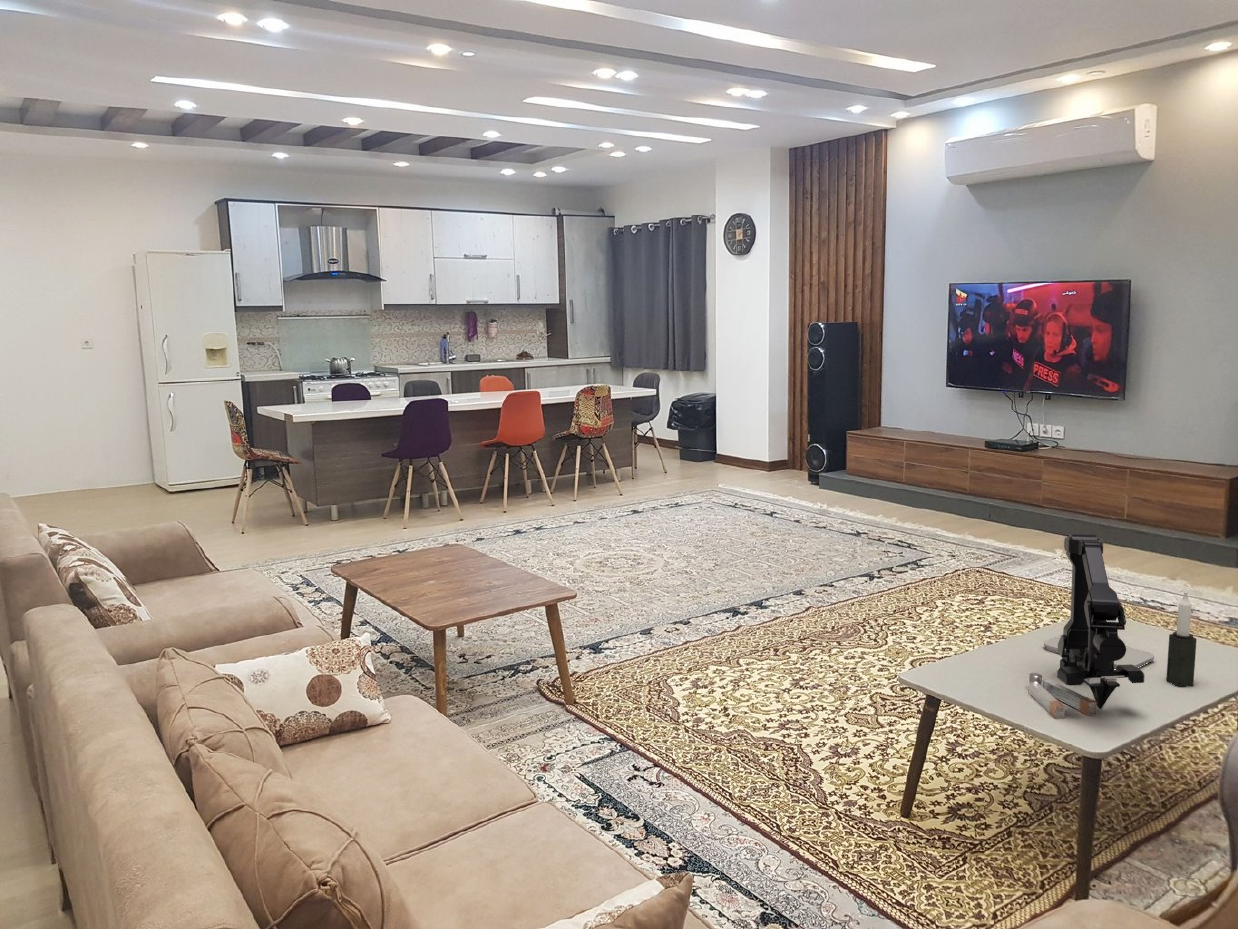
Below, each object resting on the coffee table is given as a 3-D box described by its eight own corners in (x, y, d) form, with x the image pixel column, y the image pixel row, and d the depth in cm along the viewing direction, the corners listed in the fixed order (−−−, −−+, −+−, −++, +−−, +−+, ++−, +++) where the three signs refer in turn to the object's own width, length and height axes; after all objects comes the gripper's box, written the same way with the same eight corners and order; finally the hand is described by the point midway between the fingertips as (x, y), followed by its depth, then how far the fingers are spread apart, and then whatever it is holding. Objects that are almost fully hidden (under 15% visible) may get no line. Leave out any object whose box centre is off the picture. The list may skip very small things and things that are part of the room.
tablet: (1129, 676, 257) (1129, 668, 256) (1039, 650, 278) (1039, 643, 277) (1158, 662, 266) (1158, 654, 266) (1069, 638, 287) (1069, 631, 287)
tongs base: (1022, 687, 249) (1023, 673, 249) (1038, 687, 249) (1039, 672, 249) (1054, 718, 230) (1055, 702, 229) (1071, 718, 230) (1072, 702, 229)
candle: (1164, 680, 252) (1170, 589, 248) (1182, 679, 252) (1188, 588, 249) (1176, 687, 247) (1183, 594, 243) (1195, 686, 247) (1201, 593, 244)
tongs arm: (1041, 691, 246) (1042, 679, 245) (1048, 690, 247) (1049, 678, 246) (1088, 715, 231) (1089, 702, 230) (1095, 714, 231) (1096, 701, 231)
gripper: (1122, 635, 238) (1120, 694, 240) (1048, 637, 238) (1046, 697, 240) (1146, 649, 227) (1144, 711, 229) (1068, 652, 227) (1067, 714, 229)
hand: (1099, 708), depth 232 cm, fingers closed
